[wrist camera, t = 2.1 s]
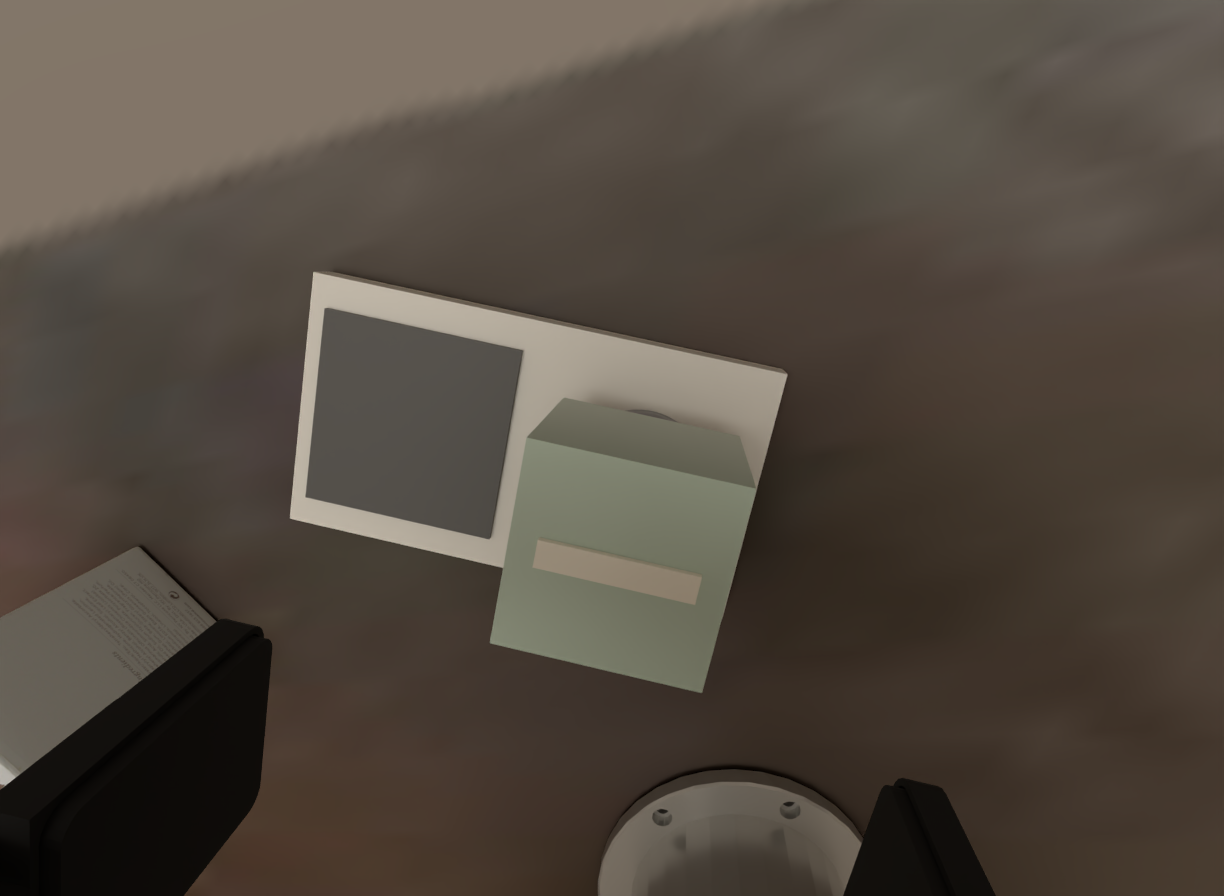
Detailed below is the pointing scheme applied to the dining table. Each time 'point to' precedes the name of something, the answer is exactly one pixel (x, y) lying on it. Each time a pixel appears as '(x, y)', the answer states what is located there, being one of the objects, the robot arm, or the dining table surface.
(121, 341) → the dining table surface
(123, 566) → the small box
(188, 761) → the robot arm
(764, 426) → the post board
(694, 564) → the green slotted box
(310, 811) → the dining table surface
